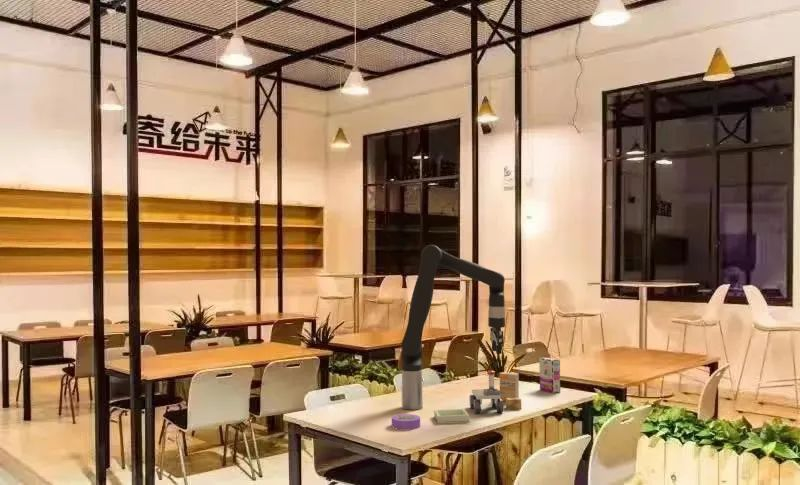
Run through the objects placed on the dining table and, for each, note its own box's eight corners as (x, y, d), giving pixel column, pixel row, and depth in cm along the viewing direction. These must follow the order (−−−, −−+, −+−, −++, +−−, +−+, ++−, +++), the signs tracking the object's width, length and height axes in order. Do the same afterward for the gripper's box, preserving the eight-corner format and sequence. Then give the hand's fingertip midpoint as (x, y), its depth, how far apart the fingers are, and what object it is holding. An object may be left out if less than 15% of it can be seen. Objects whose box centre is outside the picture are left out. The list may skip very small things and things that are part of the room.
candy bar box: (561, 392, 339) (560, 359, 339) (553, 393, 336) (552, 360, 337) (547, 388, 349) (546, 356, 349) (539, 389, 347) (538, 357, 347)
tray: (438, 423, 278) (438, 416, 278) (434, 416, 290) (434, 409, 290) (469, 422, 279) (469, 415, 279) (464, 415, 291) (464, 408, 291)
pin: (488, 394, 297) (488, 371, 297) (487, 392, 300) (487, 370, 300) (496, 394, 297) (495, 371, 297) (494, 392, 300) (494, 370, 301)
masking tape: (426, 426, 276) (426, 416, 276) (407, 431, 267) (407, 422, 267) (404, 421, 283) (404, 412, 284) (385, 427, 275) (385, 417, 275)
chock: (508, 409, 302) (508, 399, 302) (506, 407, 306) (505, 398, 306) (521, 409, 303) (521, 399, 303) (519, 407, 307) (518, 397, 307)
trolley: (476, 414, 293) (476, 392, 293) (469, 406, 309) (469, 385, 309) (503, 413, 294) (503, 392, 294) (495, 406, 310) (495, 385, 310)
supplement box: (499, 401, 320) (498, 373, 321) (502, 399, 325) (502, 371, 325) (516, 402, 316) (515, 374, 317) (519, 400, 321) (518, 372, 321)
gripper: (484, 315, 312) (484, 350, 311) (492, 317, 298) (492, 354, 297) (500, 315, 313) (500, 350, 312) (509, 317, 298) (509, 354, 298)
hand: (496, 352), depth 305 cm, fingers open, 8 cm apart
